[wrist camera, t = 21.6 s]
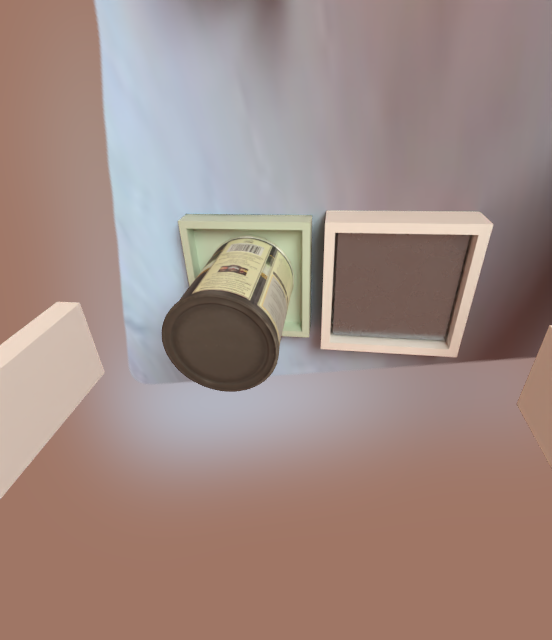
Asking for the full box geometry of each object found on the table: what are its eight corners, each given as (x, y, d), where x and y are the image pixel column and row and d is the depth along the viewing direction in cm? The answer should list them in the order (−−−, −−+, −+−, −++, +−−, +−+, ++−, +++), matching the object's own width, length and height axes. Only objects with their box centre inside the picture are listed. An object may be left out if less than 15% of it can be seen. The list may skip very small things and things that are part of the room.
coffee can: (232, 323, 48) (196, 401, 36) (194, 251, 43) (138, 314, 31) (308, 301, 44) (296, 380, 33) (275, 221, 40) (247, 278, 28)
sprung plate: (467, 230, 36) (470, 233, 35) (442, 335, 43) (444, 340, 42) (338, 228, 38) (338, 231, 37) (332, 329, 45) (332, 334, 44)
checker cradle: (479, 211, 37) (493, 224, 34) (448, 336, 45) (456, 357, 41) (326, 210, 39) (325, 222, 36) (322, 330, 47) (320, 349, 44)
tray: (312, 215, 40) (310, 222, 37) (310, 326, 47) (308, 337, 45) (186, 214, 42) (177, 221, 40) (203, 320, 49) (197, 331, 47)
